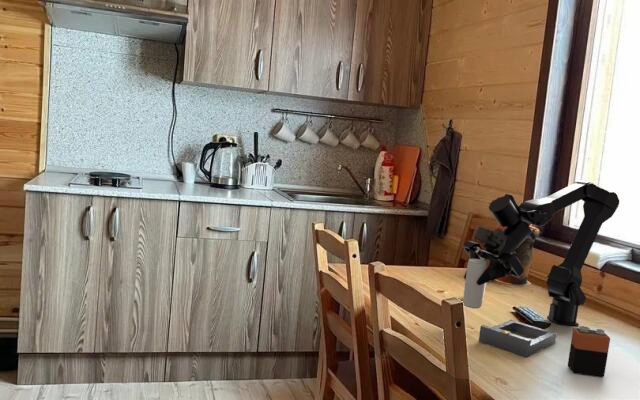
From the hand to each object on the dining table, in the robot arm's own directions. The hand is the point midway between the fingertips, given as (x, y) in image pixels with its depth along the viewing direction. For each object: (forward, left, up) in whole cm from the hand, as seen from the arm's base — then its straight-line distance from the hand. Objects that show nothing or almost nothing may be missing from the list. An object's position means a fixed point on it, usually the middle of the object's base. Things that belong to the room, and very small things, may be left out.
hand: (471, 281), depth 159 cm
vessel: (-37, -58, -12) cm, 70 cm away
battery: (-18, +26, -12) cm, 34 cm away
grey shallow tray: (-10, +9, -12) cm, 18 cm away
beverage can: (-1, -1, -7) cm, 7 cm away
